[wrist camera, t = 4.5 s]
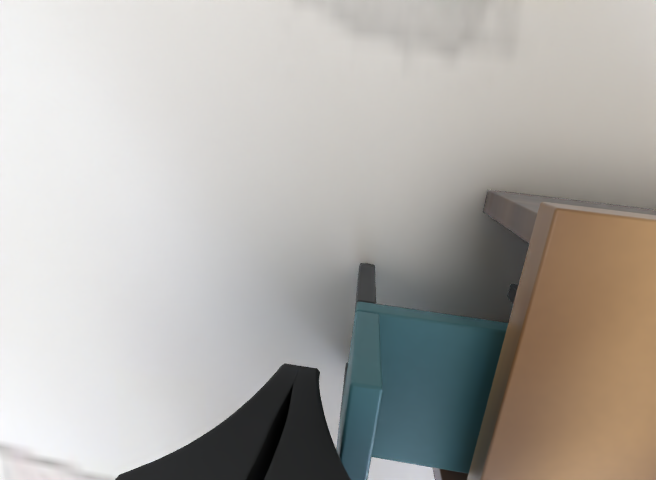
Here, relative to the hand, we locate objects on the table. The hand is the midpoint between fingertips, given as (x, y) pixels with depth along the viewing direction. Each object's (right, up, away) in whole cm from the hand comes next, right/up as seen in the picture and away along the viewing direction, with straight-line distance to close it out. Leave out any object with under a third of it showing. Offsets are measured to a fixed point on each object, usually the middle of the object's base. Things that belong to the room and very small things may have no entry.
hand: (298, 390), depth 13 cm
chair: (+6, +1, +5) cm, 8 cm away
